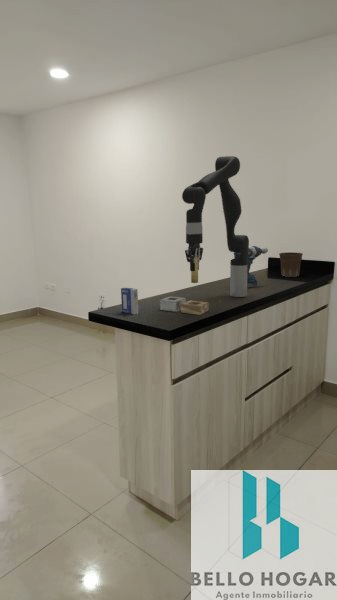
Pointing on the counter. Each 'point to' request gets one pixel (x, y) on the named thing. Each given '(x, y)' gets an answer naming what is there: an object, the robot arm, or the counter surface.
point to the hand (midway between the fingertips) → (194, 270)
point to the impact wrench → (252, 255)
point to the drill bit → (195, 272)
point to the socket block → (171, 303)
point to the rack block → (195, 307)
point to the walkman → (129, 300)
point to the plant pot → (290, 264)
